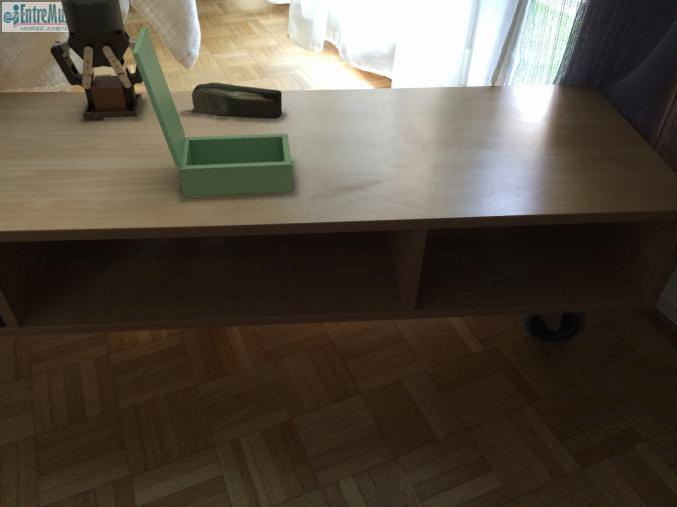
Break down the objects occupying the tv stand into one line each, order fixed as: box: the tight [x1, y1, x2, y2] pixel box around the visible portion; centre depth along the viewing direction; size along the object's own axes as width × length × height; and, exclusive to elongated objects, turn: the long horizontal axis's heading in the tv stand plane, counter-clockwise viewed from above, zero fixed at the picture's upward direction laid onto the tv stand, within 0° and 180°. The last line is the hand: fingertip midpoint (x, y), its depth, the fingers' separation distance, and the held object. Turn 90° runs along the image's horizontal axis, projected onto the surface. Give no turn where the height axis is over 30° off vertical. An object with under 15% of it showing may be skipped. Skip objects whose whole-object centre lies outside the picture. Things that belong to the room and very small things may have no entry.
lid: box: [132, 26, 186, 167], centre depth 72 cm, size 14×8×1 cm
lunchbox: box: [178, 133, 293, 198], centre depth 79 cm, size 14×8×5 cm, turn 97°
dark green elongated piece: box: [183, 82, 283, 120], centre depth 93 cm, size 5×3×15 cm
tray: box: [82, 93, 144, 122], centre depth 95 cm, size 8×6×2 cm
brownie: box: [91, 75, 128, 112], centre depth 93 cm, size 4×4×4 cm
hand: (113, 108), depth 95 cm, fingers closed on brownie, 4 cm apart
